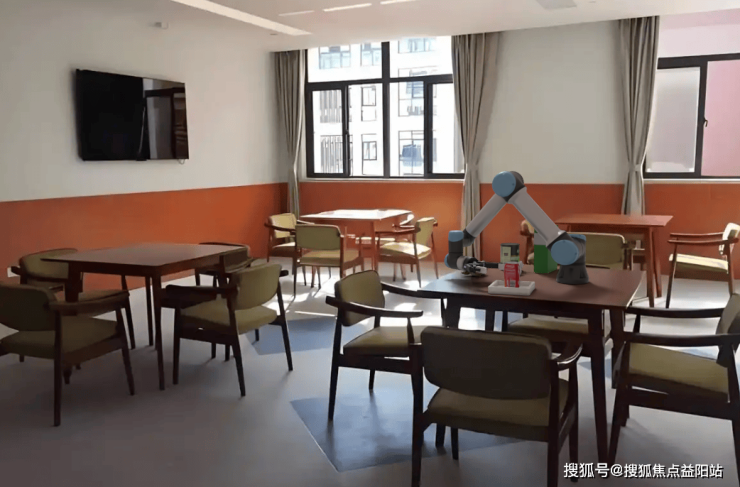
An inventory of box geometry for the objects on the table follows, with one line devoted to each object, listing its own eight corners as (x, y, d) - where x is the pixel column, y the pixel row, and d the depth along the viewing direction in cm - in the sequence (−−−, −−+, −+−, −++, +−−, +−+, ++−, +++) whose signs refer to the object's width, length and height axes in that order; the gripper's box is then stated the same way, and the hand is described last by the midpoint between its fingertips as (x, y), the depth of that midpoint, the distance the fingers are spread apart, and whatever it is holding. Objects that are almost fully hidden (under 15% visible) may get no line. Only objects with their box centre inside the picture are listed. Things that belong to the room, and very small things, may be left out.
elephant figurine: (516, 272, 348) (516, 259, 347) (525, 275, 339) (525, 261, 338) (503, 273, 346) (503, 260, 345) (511, 276, 337) (512, 262, 336)
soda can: (514, 286, 303) (515, 260, 302) (522, 289, 296) (523, 262, 295) (501, 287, 301) (501, 261, 300) (508, 290, 294) (509, 263, 293)
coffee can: (519, 268, 363) (519, 242, 362) (519, 271, 353) (519, 244, 352) (500, 267, 365) (500, 242, 364) (500, 270, 355) (500, 244, 354)
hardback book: (543, 268, 362) (544, 224, 359) (557, 268, 358) (558, 224, 355) (533, 272, 347) (534, 227, 344) (547, 273, 343) (548, 227, 340)
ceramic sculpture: (492, 257, 342) (477, 263, 331) (493, 274, 343) (477, 280, 332) (475, 256, 349) (459, 261, 338) (475, 272, 350) (460, 278, 339)
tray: (534, 288, 304) (534, 281, 304) (529, 295, 287) (529, 288, 287) (495, 286, 310) (495, 279, 310) (488, 293, 294) (488, 286, 293)
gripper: (487, 269, 331) (517, 274, 313) (447, 274, 318) (476, 280, 300) (487, 254, 330) (517, 259, 312) (447, 258, 318) (476, 263, 299)
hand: (497, 269), depth 306 cm, fingers open, 13 cm apart
